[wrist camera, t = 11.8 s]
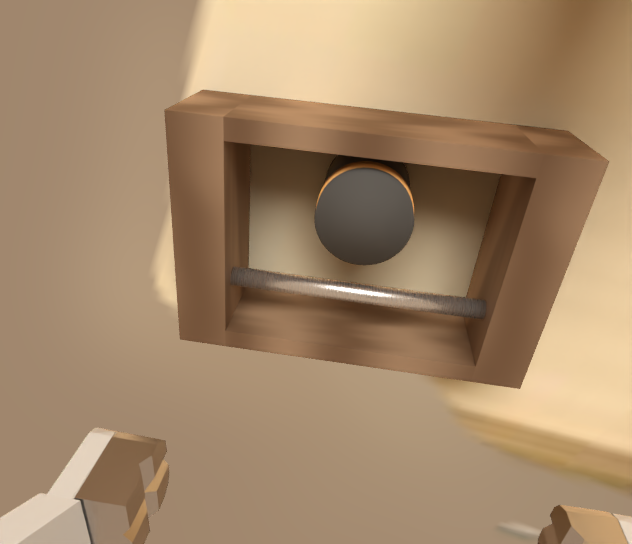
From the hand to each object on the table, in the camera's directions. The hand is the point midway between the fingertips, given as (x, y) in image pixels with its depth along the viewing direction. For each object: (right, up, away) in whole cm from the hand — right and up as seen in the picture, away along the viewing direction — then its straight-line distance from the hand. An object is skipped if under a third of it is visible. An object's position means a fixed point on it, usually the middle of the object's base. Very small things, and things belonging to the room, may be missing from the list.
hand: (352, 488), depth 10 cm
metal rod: (+1, +4, +15) cm, 16 cm away
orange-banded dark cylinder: (+2, +9, +16) cm, 18 cm away
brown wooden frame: (+2, +7, +17) cm, 18 cm away
